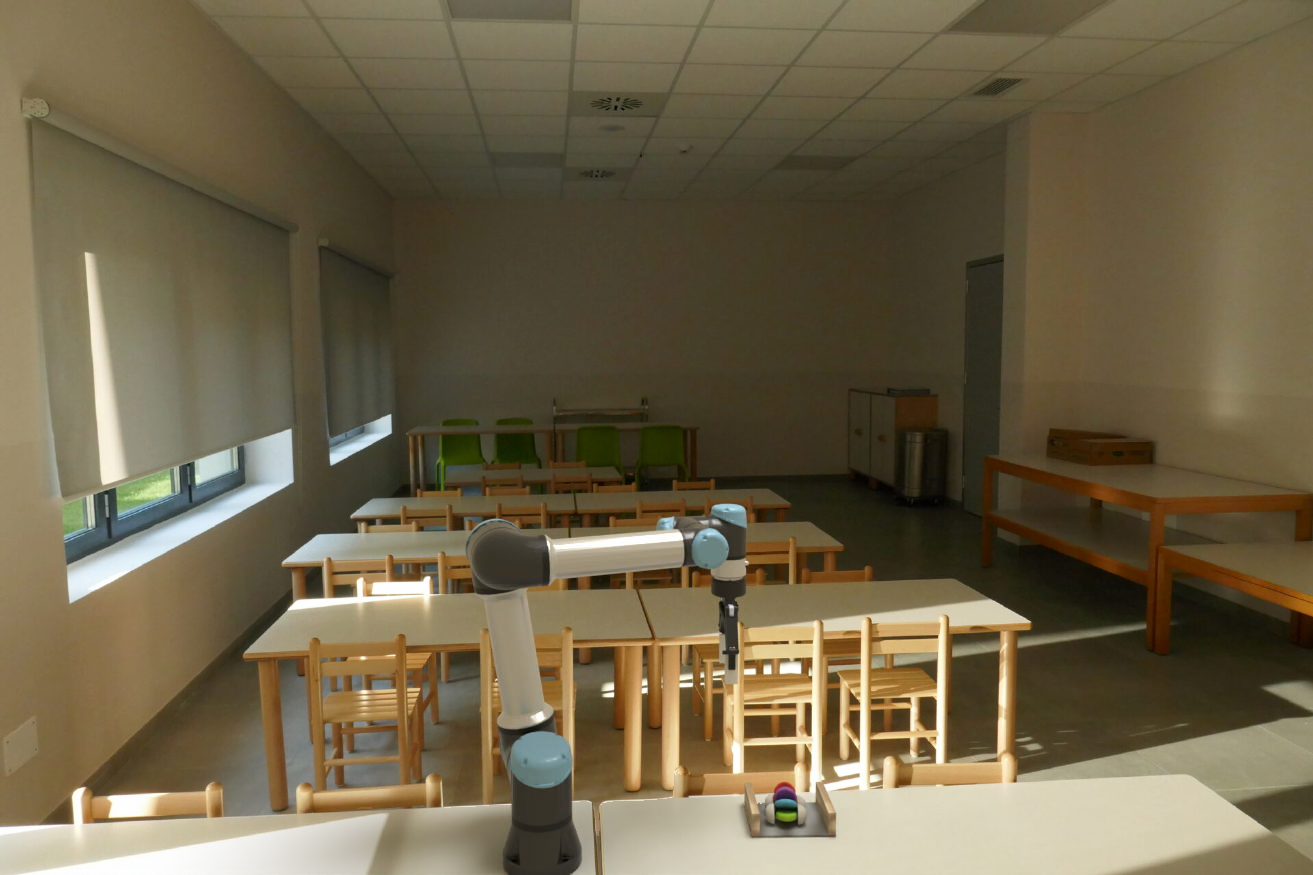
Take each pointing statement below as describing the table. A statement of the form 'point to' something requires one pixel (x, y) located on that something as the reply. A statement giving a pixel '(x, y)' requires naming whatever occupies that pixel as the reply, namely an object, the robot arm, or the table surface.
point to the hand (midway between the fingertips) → (728, 672)
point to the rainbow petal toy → (785, 805)
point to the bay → (816, 824)
